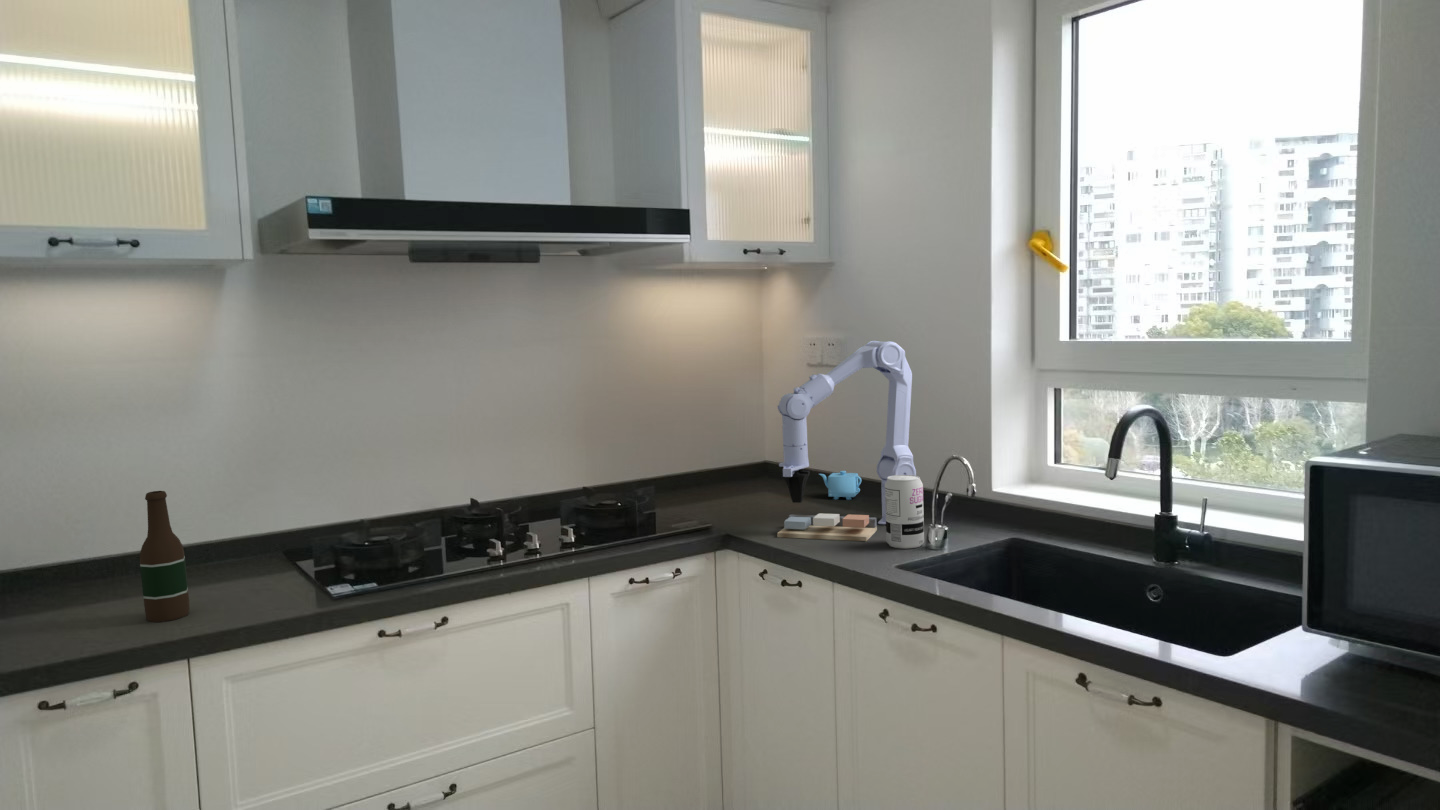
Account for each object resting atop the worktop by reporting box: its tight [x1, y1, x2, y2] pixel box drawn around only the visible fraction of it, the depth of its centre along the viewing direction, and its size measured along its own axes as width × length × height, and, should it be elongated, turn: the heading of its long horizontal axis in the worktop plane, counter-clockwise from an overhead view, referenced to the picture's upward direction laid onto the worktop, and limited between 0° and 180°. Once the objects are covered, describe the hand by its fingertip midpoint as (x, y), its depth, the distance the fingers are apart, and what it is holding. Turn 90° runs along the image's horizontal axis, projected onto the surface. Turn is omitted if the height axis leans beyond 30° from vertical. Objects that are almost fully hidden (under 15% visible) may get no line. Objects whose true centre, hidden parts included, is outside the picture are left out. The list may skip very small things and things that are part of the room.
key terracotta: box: [843, 513, 870, 528], centre depth 230 cm, size 5×5×2 cm
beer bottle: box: [139, 490, 190, 623], centre depth 189 cm, size 8×8×24 cm
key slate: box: [783, 517, 811, 530], centre depth 235 cm, size 5×5×2 cm
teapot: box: [818, 470, 863, 501], centre depth 275 cm, size 12×6×8 cm, turn 72°
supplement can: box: [885, 475, 925, 550], centre depth 219 cm, size 8×8×15 cm
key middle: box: [813, 512, 840, 526], centre depth 232 cm, size 5×5×2 cm
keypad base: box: [776, 513, 878, 542], centre depth 233 cm, size 21×11×3 cm, turn 69°
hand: (797, 502), depth 235 cm, fingers closed
